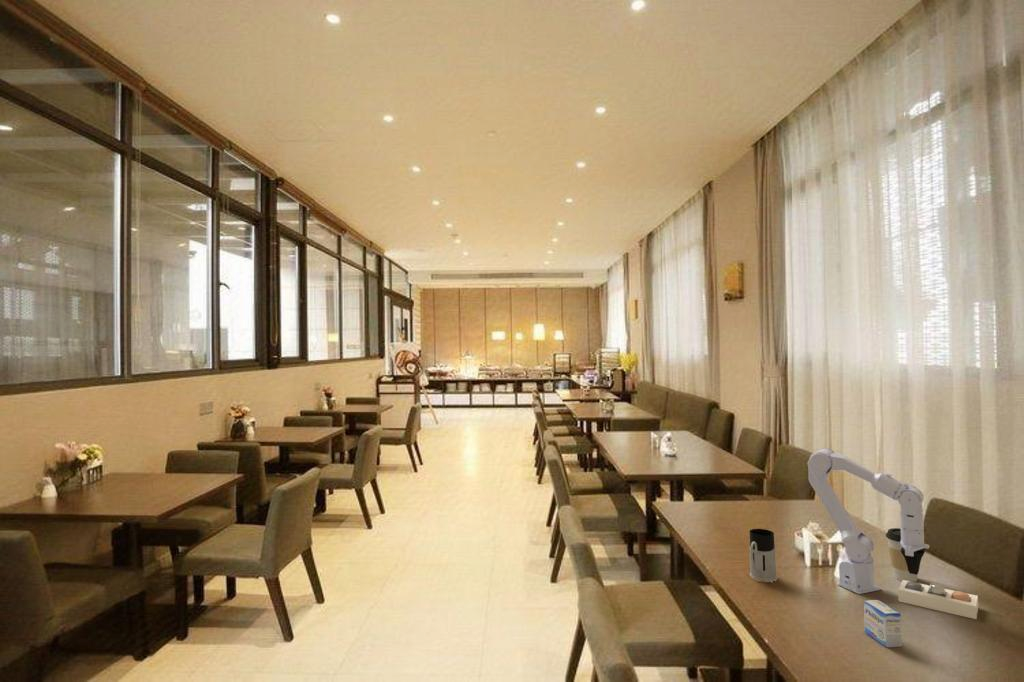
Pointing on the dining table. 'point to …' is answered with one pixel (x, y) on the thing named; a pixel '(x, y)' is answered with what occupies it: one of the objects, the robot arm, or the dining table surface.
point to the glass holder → (762, 555)
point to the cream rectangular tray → (938, 601)
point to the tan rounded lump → (961, 596)
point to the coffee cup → (898, 556)
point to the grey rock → (937, 589)
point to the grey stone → (914, 586)
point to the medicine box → (882, 623)
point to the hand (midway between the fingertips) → (913, 573)
